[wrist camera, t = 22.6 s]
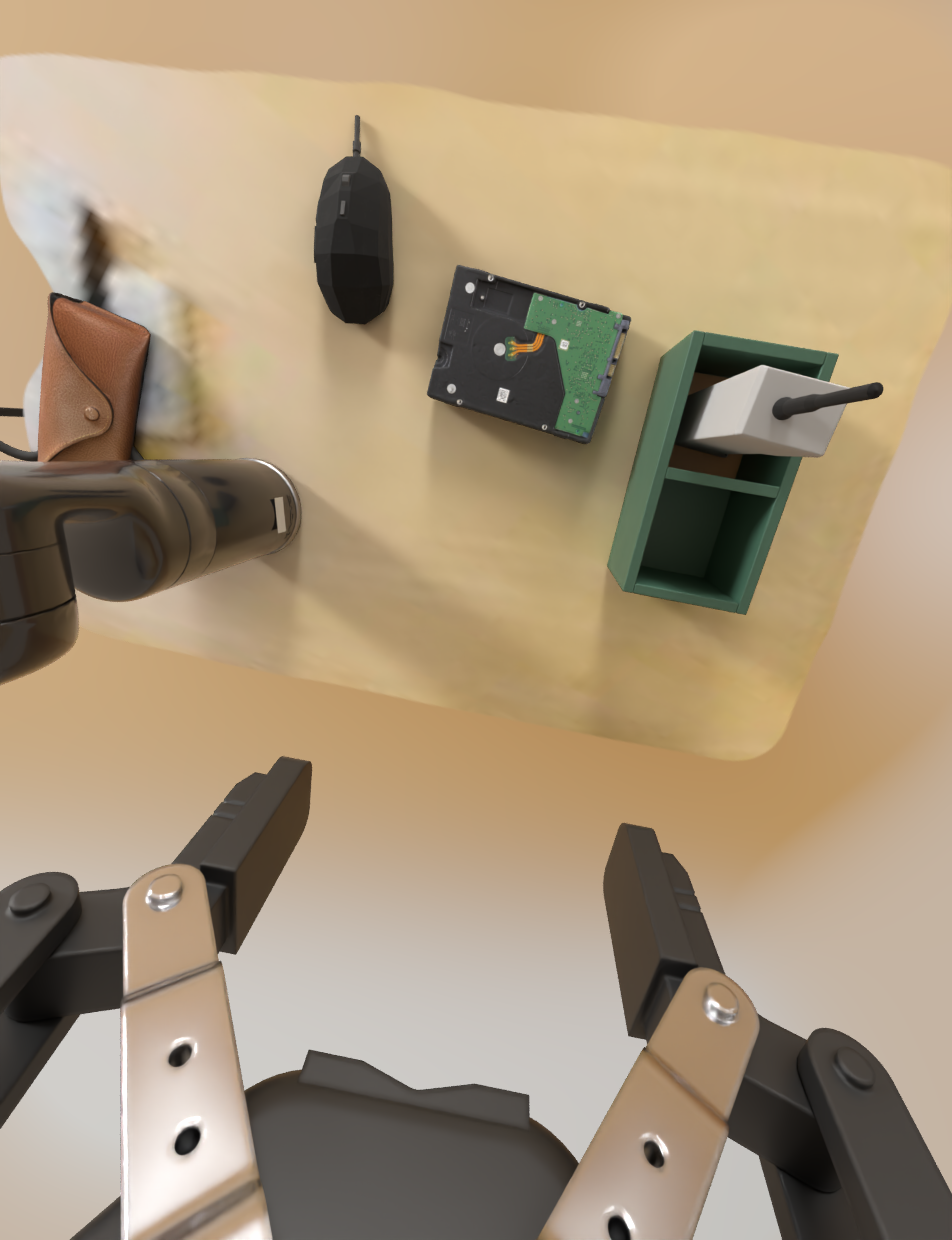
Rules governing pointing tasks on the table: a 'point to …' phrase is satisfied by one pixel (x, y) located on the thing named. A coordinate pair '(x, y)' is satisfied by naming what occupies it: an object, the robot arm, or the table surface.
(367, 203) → the gaming mouse
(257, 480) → the robot arm
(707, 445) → the vintage mobile phone
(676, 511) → the caddy
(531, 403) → the disk drive
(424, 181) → the table surface
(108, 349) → the sunglasses case
